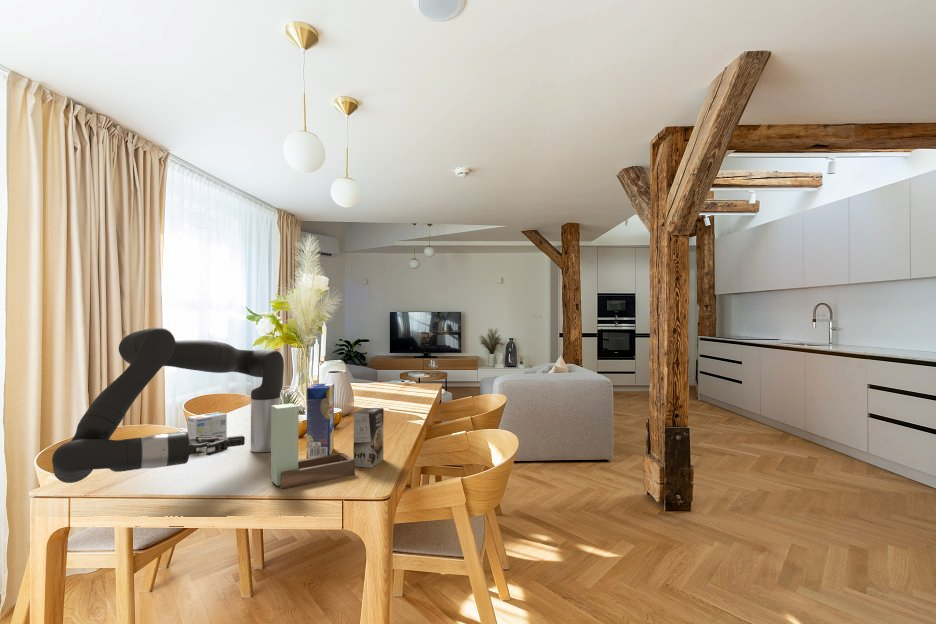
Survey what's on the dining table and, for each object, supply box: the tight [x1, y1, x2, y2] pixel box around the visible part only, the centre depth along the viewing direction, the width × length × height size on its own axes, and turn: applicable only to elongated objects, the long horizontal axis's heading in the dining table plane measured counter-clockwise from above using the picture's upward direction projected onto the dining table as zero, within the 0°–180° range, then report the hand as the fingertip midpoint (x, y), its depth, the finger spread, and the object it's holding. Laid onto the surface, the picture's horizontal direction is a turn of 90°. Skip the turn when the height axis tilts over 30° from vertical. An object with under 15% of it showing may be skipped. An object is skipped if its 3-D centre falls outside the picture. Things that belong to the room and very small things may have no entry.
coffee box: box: [352, 407, 385, 469], centre depth 149 cm, size 9×6×16 cm
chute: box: [277, 452, 356, 490], centre depth 136 cm, size 9×20×4 cm, turn 127°
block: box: [270, 403, 300, 486], centre depth 131 cm, size 6×6×20 cm
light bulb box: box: [186, 411, 228, 439], centre depth 168 cm, size 11×7×11 cm, turn 144°
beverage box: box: [306, 383, 335, 459], centre depth 159 cm, size 7×11×22 cm, turn 8°
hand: (243, 440), depth 125 cm, fingers closed
